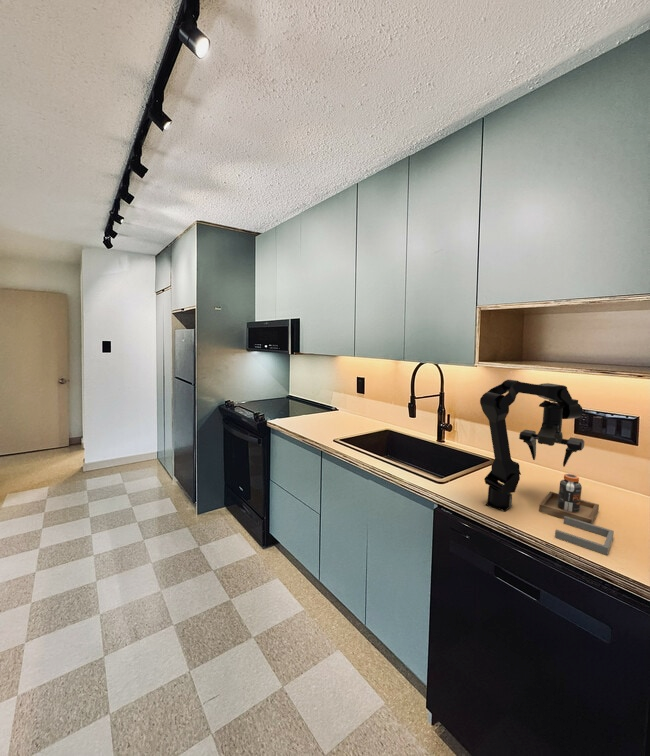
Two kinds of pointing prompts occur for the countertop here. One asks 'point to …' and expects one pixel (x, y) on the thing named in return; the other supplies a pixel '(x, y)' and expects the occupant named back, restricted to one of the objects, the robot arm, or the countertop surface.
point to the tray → (551, 507)
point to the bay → (584, 542)
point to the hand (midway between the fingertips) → (548, 463)
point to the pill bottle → (569, 493)
